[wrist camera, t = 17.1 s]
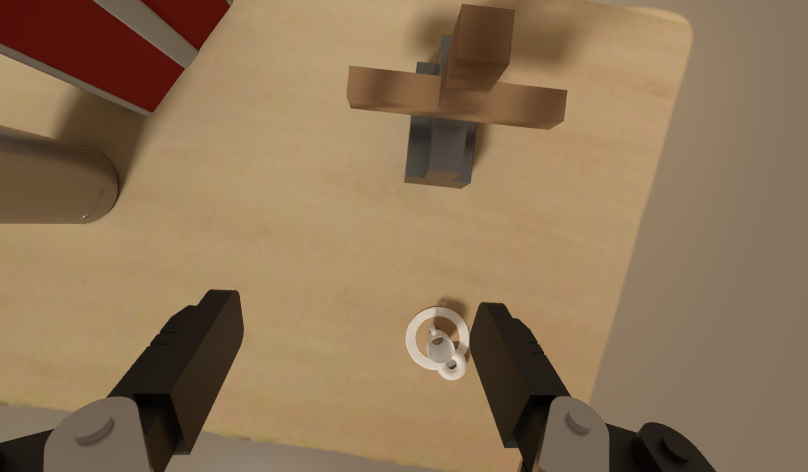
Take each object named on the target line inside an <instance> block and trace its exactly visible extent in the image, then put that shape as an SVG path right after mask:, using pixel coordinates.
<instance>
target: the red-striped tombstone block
mask: <svg viewBox="0 0 808 472" xmlns="http://www.w3.org/2000/svg"><path fill="white" fill-rule="evenodd" d="M230 5H232V0H0V54H2V55H5V56H7V57H9V58H12V59H14V60H16V61H18V62H21V63H23V64H25V65H28V66H30V67H32V68H35V69H37V70H39V71H42V72H44V73H46V74H49V75H51V76H53V77H55V78H58V79H60V80H62V81H65V82H67V83H69V84H72V85H74V86H76V87H79V88H81V89H83V90H86V91H88V92H90V93H93V94H95V95H97V96H99V97H102V98H104V99H106V100H109V101H111V102H113V103H116V104H118V105H120V106H123V107H125V108H127V109H130V110H132V111H134V112H136V113H139V114H141V115H143V116H150V115H151V114H152V113H151V112H154V110H155V109H156V108H157V106H158V105H159V103H160V102H161V101H162V99H163V98H164V97H165V95H166V94H167V92H168V91H169V90H170V88H171V87H172V86H173V84H174V83H175V82H176V80H177V79H178V77H179V76H180V75H181V73H182V72H183V71H184V69H187V68H188V67H189V65H190V64H191V63H192V61H193V60H194V59H195V57H196V56H197V54H198V53H199V51H198V50H199V49H200V47H201V46H202V45H203V43H204V42H205V41H206V39H207V38H208V37H209V35H210V34H211V32H212V31H213V30H214V28H215V27H216V26H217V24H218V23H219V21H220V20H221V19H222V17H223V16H224V15H225V13H226V12H227V11H228V9H229V8H230V7H229V6H230Z"/></svg>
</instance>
